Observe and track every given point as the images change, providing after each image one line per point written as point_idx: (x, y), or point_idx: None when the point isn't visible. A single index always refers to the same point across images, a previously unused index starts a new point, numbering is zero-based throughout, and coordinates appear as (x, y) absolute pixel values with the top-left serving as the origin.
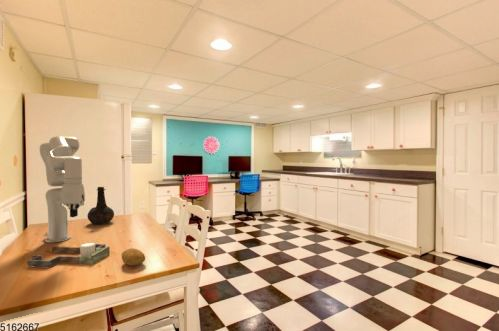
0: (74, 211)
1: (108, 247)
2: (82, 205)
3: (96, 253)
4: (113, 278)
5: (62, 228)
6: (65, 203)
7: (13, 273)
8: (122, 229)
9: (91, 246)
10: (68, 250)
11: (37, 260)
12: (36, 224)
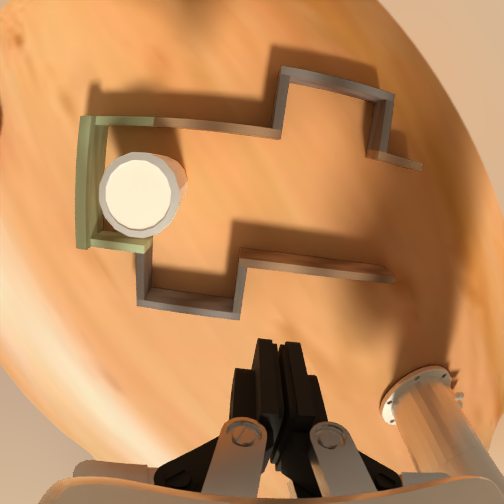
0: (247, 403)
1: (77, 239)
2: (95, 468)
3: (78, 143)
4: (2, 31)
5: (415, 423)
6: (417, 485)
7: (387, 41)
8: None
9: (105, 175)
10: (304, 260)
11: (350, 83)
12: None
